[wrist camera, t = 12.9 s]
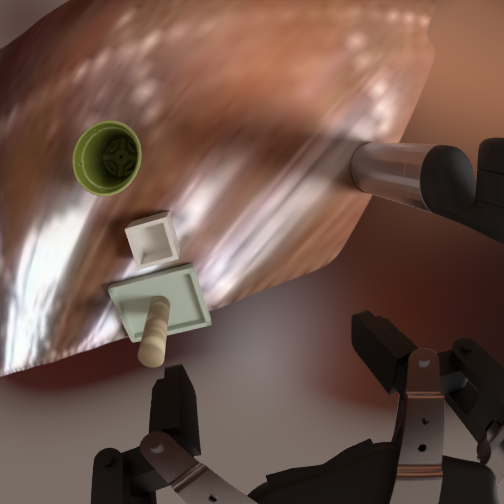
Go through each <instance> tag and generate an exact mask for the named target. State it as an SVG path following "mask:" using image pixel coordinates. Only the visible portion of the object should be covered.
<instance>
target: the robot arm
mask: <svg viewBox="0 0 504 504" xmlns="http://www.w3.org/2000/svg"><path fill="white" fill-rule="evenodd" d="M477 167H478V168H477V169H478V171H477V182H476V179H475V175H474V171H473V168H472V165H471V163H470V161H469V159H468V157H467V156H466V155H465V153H464V152H463V151H462V150H460V149H458V148H456V147H454V146H448V145H431V144H410V143H366V144H363V145H362V146H360V147H359V148H358V149H357V150H356V151H355V153H354V155H353V157H352V160H351V174H352V178H353V180H354V182H355V184H356V185H357V187H358V188H359V189H360V190H362V191H364V192H366V193H369V194H373V195H376V196H379V197H383V198H386V199H390V200H393V201H397V202H400V203H403V204H406V205H409V206H413V207H415V208H419V209H422V210H425V211H428V212H431V213H434V214H437V215H440V216H443V217H445V218H447V219H450V220H453V221H455V222H458V223H460V224H463V225H465V226H467V227H469V228H472V229H474V230H476V231H478V232H479V233H481V234H483V235H485V236H488V237H489V238H491V239H493V240H496V241H498V242H500V243H502V244H504V138H489V139H486V140H484V141H482V142H481V144H480V146H479V151H478V165H477ZM351 321H352V322H351V324H352V326H351V341H352V345H353V348H354V350H355V351H356V353H357V354H358V355H359V357H360V358H361V359H362V360H363V361H364V363H365V364H366V365H367V367H368V368H369V369H370V371H371V372H372V373H373V375H374V376H375V377H376V378H377V380H378V381H379V382H380V384H381V385H382V386H383V388H384V389H385V390H386V391H387V393H388V394H389V395H391V394H393V393H394V392H396V391H397V392H398V393H399V394H400V396H399V401H398V409H397V416H396V422H395V428H394V433H393V437H392V440H391V442H380V443H374V444H373V443H372V441H371V439H367V440H365V441H363V442H361V443H359V444H356V445H354V446H352V447H349V448H347V449H345V450H344V451H342V452H341V453H339V454H338V455H337V456H335V457H334V458H332V459H331V460H329V461H327V462H326V463H324V464H322V465H317V466H308V467H299V468H291V469H288V470H285V471H281V472H277V473H274V474H270V475H266V478H267V482H265V483H263V484H261V485H260V486H258V487H257V488H255V489H254V490H253V491H251V493H250V494H248V495H247V496H246V495H245V494H243V493H242V492H240V491H239V490H237V489H236V488H234V487H233V486H232V485H230V484H229V483H228V482H226V481H225V480H224V479H222V478H221V477H220V476H218V475H217V474H216V473H214V472H213V471H212V470H211V469H209V468H208V467H207V466H205V465H204V464H201V463H200V462H198V461H197V460H196V459H195V458H194V456H198V455H201V448H200V439H199V427H198V415H197V402H196V394H195V390H194V388H193V385H192V383H191V381H190V379H189V377H188V375H187V373H186V371H185V369H184V367H183V365H182V364H177V365H172V366H167V367H165V375H164V378H163V379H158V380H157V381H156V383H155V385H154V387H153V388H152V399H151V409H150V422H149V434H147V435H146V436H145V437H144V438H143V439H142V441H141V443H140V446H138V447H137V448H134V449H131V450H129V451H126V452H123V453H120V452H119V451H118V450H117V449H114V448H106V449H103V450H101V451H100V452H99V453H98V454H97V455H96V456H95V459H94V465H93V476H92V491H91V504H157V503H156V490H158V489H161V488H164V487H167V486H169V485H170V486H171V487H172V489H173V490H174V491H175V492H176V493H177V494H178V495H179V496H180V497H181V498H182V499H183V500H184V501H186V502H187V503H188V504H499V499H498V487H497V483H499V482H500V480H502V479H503V478H504V368H503V367H502V366H500V364H499V363H498V362H497V361H496V360H494V359H493V358H492V357H491V356H490V355H489V354H488V353H487V352H486V351H485V350H484V349H483V348H482V347H481V346H479V345H478V344H477V343H476V342H475V341H474V340H472V339H469V338H461V339H458V340H456V341H455V342H454V344H453V346H452V350H448V351H445V352H441V353H435V352H434V351H432V350H430V349H426V348H420V349H419V348H418V347H417V346H416V345H415V344H413V342H412V341H411V340H410V339H408V338H407V337H406V336H405V335H404V334H403V333H402V332H400V330H399V329H398V328H397V327H395V325H394V324H392V323H391V322H390V321H389V320H388V319H385V318H383V317H381V316H377V317H375V316H374V315H373V314H372V313H371V312H370V311H368V310H364V311H362V312H359V313H356V314H354V315H352V319H351ZM467 380H469V381H470V382H471V383H472V384H473V385H474V387H475V388H476V389H477V390H478V392H477V391H476V390H475V388H474V387H473V386H472V385H471V384H470V383H469V382H468V381H467ZM445 401H446V402H447V403H448V404H449V406H450V407H451V408H452V409H453V411H454V412H455V413H456V415H457V416H458V417H459V418H460V420H461V421H462V422H463V424H464V425H465V426H466V428H467V429H468V430H469V432H470V433H471V434H472V436H473V437H474V438H475V440H476V441H477V443H478V444H477V454H478V455H477V459H478V460H479V461H480V463H479V462H473V461H468V460H463V459H458V458H453V457H449V456H444V455H442V454H443V441H444V420H445V419H444V418H445Z"/></svg>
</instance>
